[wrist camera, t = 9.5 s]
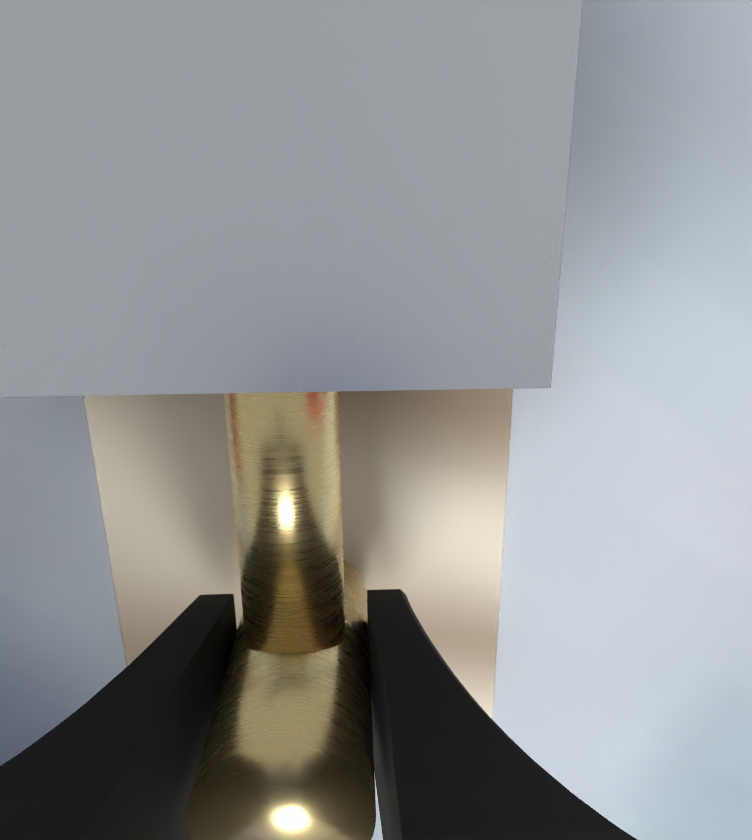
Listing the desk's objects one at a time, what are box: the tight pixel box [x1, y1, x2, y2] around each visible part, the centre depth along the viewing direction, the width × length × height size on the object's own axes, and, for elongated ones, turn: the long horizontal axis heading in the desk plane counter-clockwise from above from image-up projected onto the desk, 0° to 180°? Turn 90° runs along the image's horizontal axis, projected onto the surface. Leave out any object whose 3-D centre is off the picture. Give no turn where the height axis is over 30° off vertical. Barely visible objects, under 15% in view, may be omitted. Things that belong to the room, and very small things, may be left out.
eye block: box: [0, 0, 583, 397], centre depth 8 cm, size 5×6×5 cm
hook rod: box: [186, 391, 376, 840], centre depth 9 cm, size 10×2×5 cm, turn 0°
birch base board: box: [84, 388, 513, 719], centre depth 11 cm, size 19×8×1 cm, turn 0°
